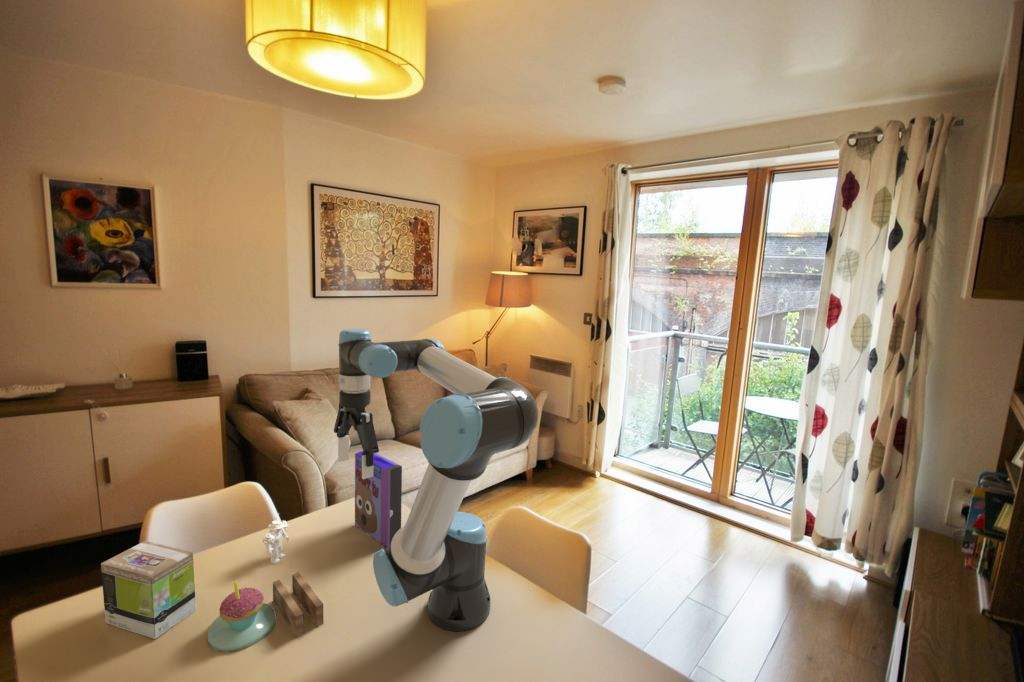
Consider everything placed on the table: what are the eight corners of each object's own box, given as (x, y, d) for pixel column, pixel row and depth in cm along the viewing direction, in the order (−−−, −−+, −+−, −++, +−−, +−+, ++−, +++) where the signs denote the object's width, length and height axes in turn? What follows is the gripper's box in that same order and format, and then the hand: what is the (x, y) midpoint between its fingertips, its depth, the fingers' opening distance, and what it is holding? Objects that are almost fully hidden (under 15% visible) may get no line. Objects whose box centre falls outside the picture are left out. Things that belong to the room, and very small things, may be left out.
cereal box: (354, 525, 145) (354, 453, 142) (368, 519, 149) (368, 449, 145) (387, 547, 134) (388, 470, 131) (400, 541, 138) (401, 465, 134)
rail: (303, 633, 101) (302, 613, 101) (296, 637, 100) (295, 616, 100) (279, 598, 112) (279, 579, 111) (273, 600, 111) (272, 582, 110)
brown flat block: (323, 623, 105) (323, 603, 104) (316, 626, 104) (316, 606, 103) (298, 589, 115) (298, 571, 114) (292, 592, 114) (292, 574, 113)
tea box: (198, 609, 107) (194, 551, 105) (154, 641, 98) (150, 578, 96) (149, 594, 111) (145, 538, 109) (103, 624, 102) (97, 563, 99)
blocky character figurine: (280, 548, 131) (279, 509, 130) (293, 550, 131) (292, 510, 129) (259, 568, 123) (258, 526, 121) (273, 569, 122) (272, 528, 120)
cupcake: (250, 638, 98) (248, 587, 96) (210, 636, 98) (207, 585, 96) (271, 609, 106) (270, 562, 105) (235, 607, 107) (233, 560, 105)
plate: (283, 629, 102) (283, 624, 102) (216, 662, 93) (215, 657, 93) (264, 598, 111) (264, 594, 111) (201, 625, 102) (201, 621, 102)
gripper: (320, 381, 123) (321, 457, 126) (364, 403, 106) (364, 489, 109) (347, 378, 128) (347, 450, 131) (393, 398, 111) (392, 481, 114)
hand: (355, 468), depth 120 cm, fingers open, 13 cm apart
